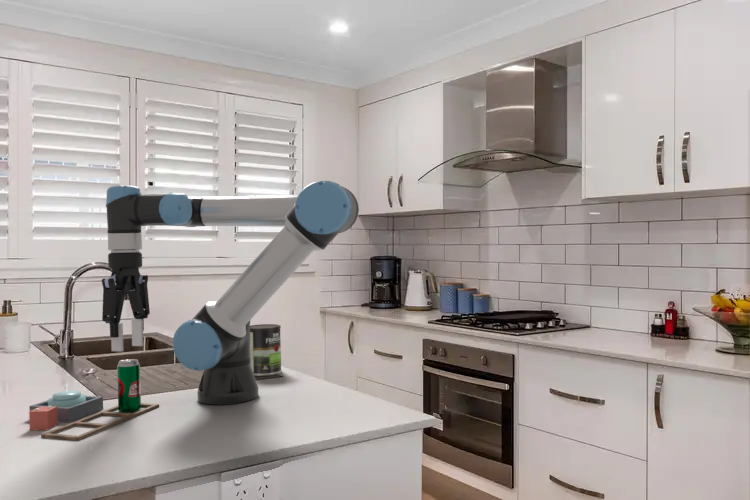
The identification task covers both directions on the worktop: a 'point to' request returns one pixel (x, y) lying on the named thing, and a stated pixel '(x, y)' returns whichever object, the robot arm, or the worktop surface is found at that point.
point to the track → (99, 426)
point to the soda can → (129, 386)
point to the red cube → (43, 418)
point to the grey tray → (75, 408)
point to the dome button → (66, 399)
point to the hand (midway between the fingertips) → (127, 348)
